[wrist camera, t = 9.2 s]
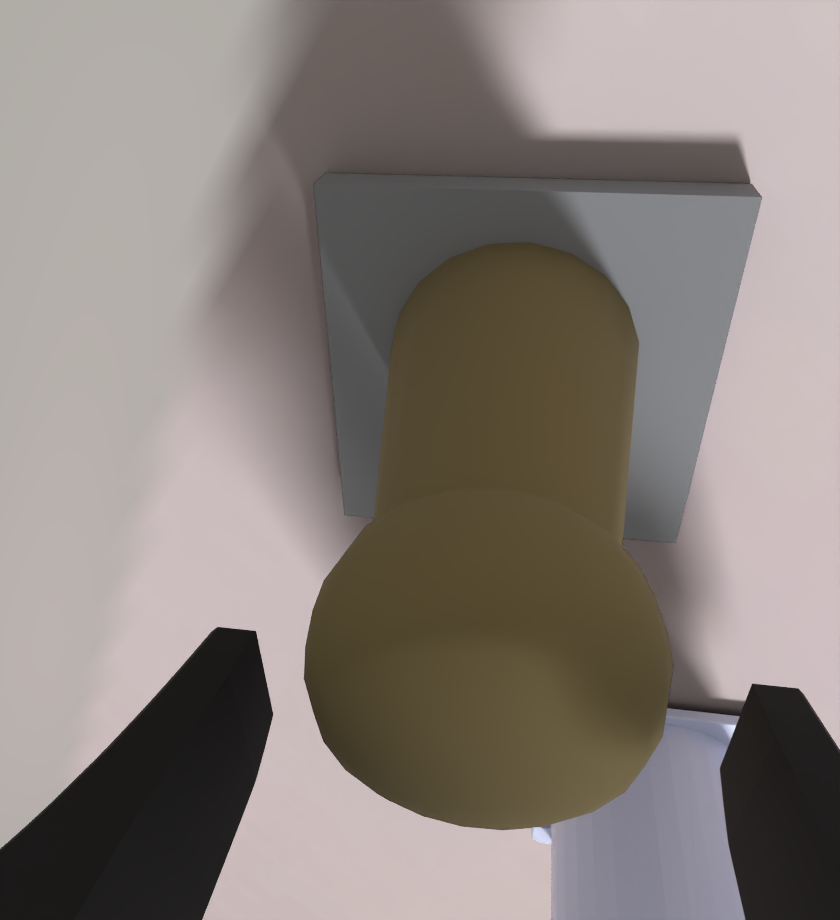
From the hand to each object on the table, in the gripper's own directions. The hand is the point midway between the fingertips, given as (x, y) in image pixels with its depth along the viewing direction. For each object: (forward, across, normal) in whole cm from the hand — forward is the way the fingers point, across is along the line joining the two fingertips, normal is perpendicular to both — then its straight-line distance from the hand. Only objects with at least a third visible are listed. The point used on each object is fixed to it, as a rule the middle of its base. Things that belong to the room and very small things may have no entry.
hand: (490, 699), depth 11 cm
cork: (+10, 0, -1) cm, 10 cm away
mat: (+10, 0, 0) cm, 10 cm away
